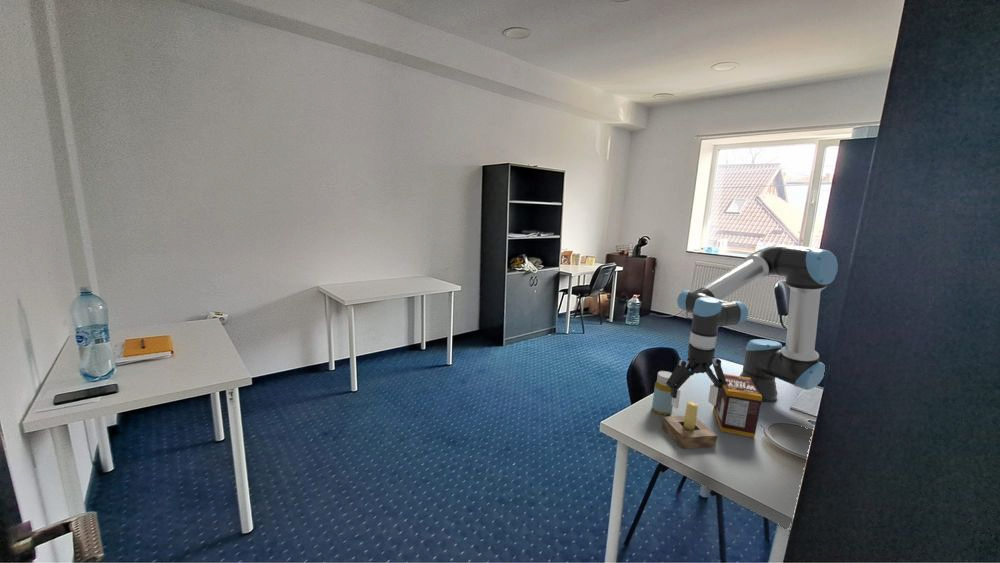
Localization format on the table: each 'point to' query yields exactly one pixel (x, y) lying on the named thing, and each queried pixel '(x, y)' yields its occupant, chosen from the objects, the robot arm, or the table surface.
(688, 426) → the peg
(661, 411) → the bottle
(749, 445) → the table surface
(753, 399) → the supplement box
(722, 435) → the table surface
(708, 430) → the socket block
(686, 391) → the table surface
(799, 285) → the robot arm
